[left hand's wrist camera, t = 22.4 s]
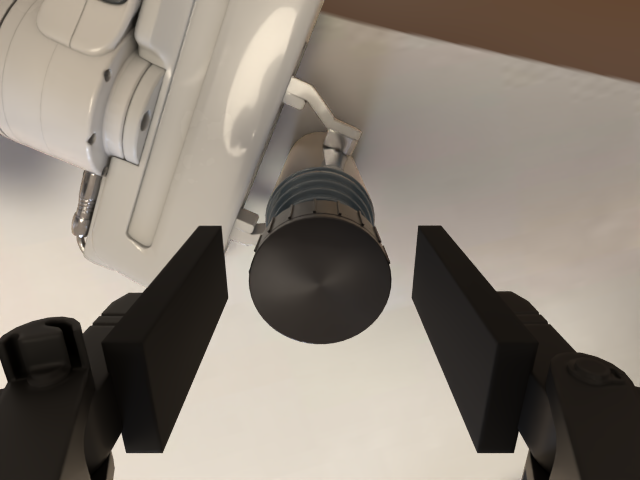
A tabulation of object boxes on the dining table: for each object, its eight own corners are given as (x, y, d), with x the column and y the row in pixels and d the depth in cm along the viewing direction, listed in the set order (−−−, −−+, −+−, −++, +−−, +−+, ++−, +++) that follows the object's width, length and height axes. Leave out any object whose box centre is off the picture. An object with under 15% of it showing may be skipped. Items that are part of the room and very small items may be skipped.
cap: (264, 319, 15) (257, 350, 13) (247, 202, 14) (237, 220, 12) (385, 311, 15) (393, 341, 13) (382, 192, 13) (391, 209, 12)
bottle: (288, 197, 31) (250, 336, 14) (285, 132, 29) (239, 201, 12) (352, 196, 31) (390, 335, 14) (353, 131, 29) (399, 199, 12)
